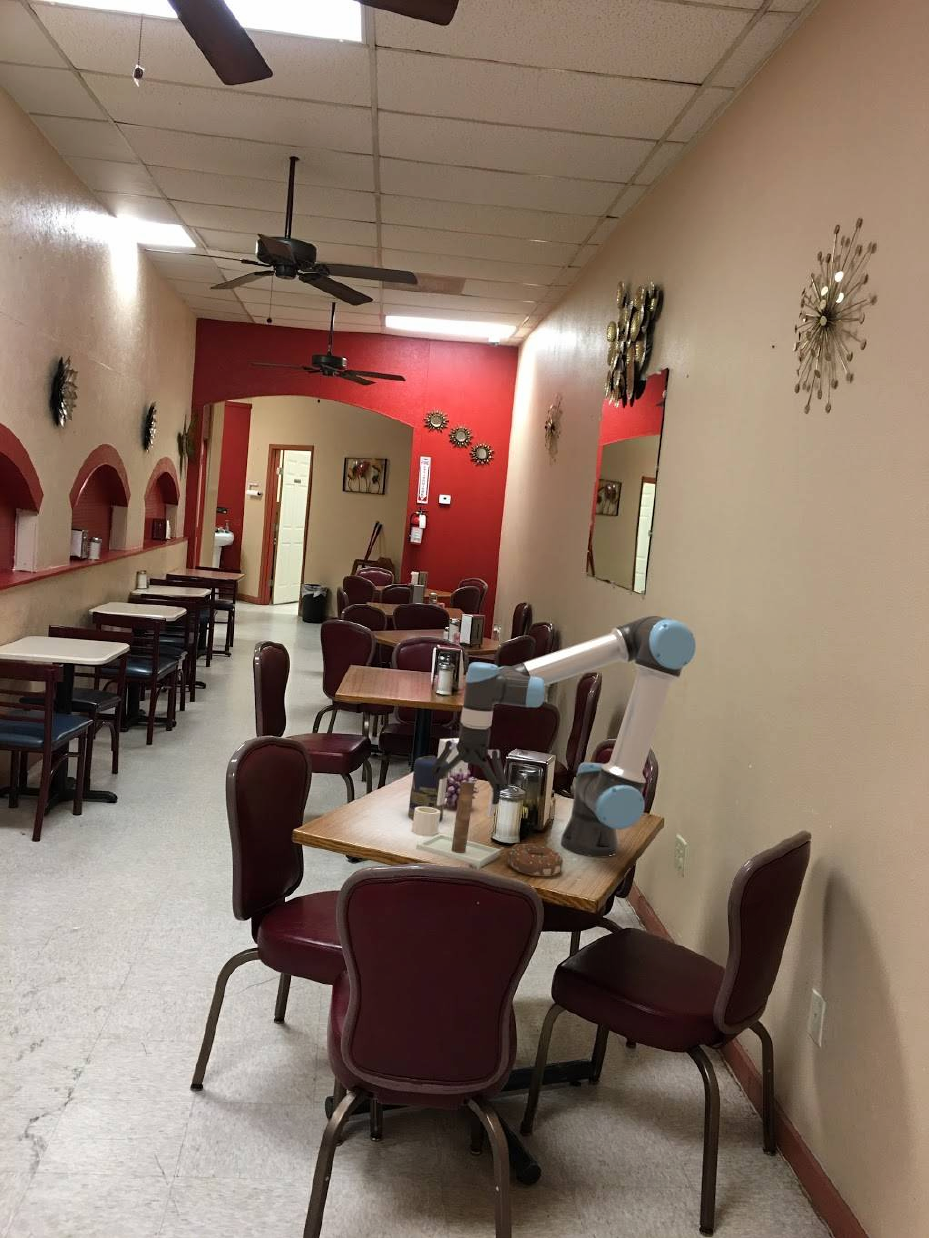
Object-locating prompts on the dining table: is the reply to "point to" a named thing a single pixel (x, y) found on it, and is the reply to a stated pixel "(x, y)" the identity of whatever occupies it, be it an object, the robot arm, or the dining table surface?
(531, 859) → the donut
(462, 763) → the skincare box
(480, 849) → the tray
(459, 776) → the flower
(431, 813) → the tumbler
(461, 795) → the dowel
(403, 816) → the dining table surface
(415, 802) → the canister
